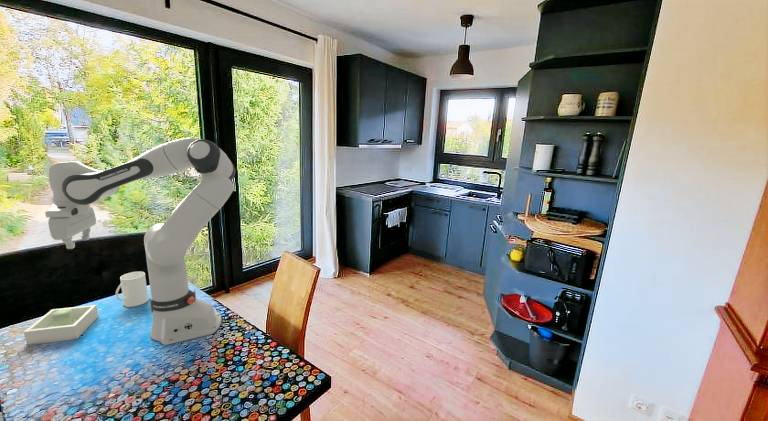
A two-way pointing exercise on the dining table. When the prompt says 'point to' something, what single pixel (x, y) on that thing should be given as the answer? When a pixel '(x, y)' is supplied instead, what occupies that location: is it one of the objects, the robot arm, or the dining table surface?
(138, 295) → the mug
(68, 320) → the pale green rounded piece
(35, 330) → the bin
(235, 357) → the dining table surface
